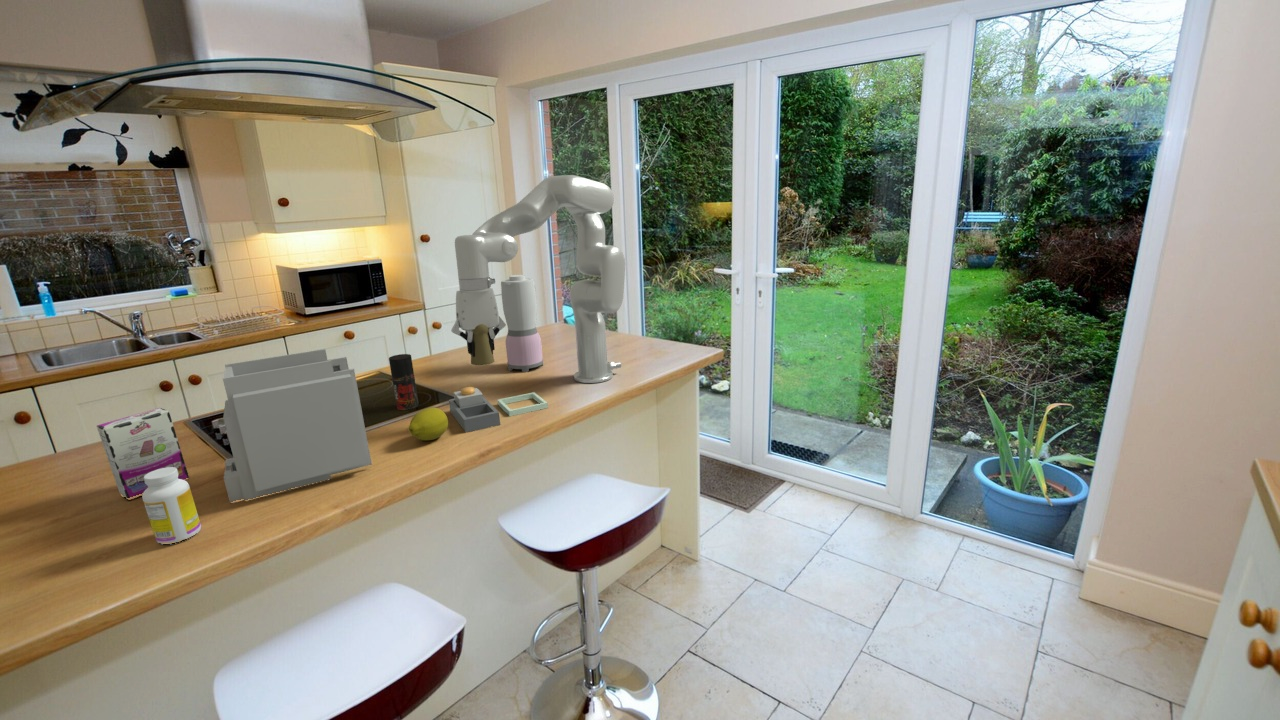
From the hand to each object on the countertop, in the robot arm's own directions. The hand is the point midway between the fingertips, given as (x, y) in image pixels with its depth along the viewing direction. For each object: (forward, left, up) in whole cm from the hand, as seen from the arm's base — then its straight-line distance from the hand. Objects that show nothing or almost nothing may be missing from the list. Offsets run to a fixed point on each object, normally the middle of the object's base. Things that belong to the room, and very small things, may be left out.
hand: (481, 353), depth 151 cm
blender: (-26, -42, -18) cm, 52 cm away
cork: (0, 0, -2) cm, 2 cm away
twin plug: (+3, -7, -18) cm, 20 cm away
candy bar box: (+72, -3, -18) cm, 75 cm away
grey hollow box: (+3, -3, -18) cm, 19 cm away
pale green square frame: (-11, -4, -18) cm, 21 cm away
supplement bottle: (+64, +24, -18) cm, 71 cm away
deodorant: (+17, -24, -18) cm, 35 cm away
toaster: (+43, +9, -18) cm, 48 cm away
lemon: (+16, +5, -18) cm, 25 cm away
